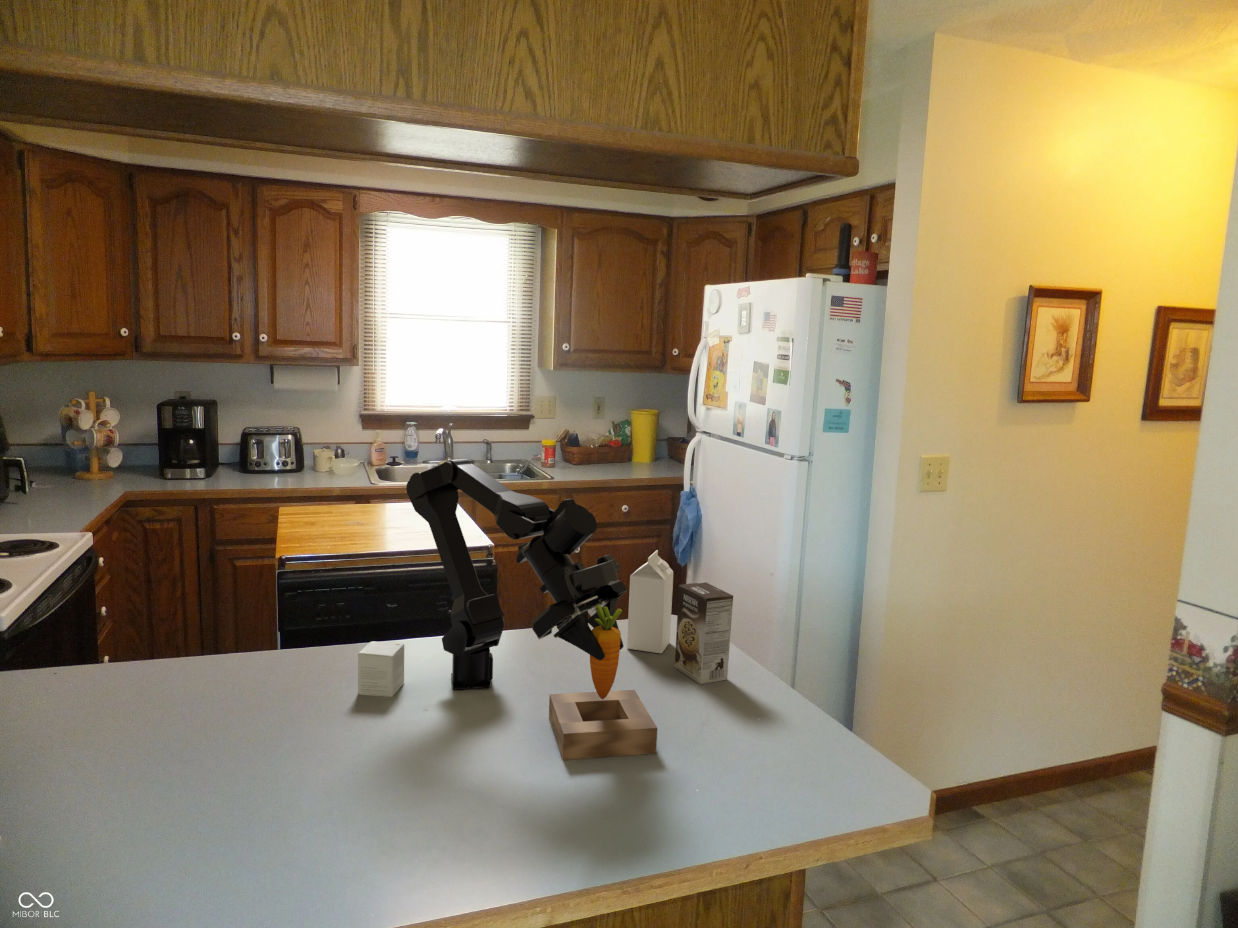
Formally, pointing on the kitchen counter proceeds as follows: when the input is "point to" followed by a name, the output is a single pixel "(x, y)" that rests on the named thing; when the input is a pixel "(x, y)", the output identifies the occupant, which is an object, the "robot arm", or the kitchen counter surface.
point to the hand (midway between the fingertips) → (612, 653)
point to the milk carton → (650, 606)
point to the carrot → (605, 651)
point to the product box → (380, 669)
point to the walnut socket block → (601, 725)
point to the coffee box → (703, 632)
